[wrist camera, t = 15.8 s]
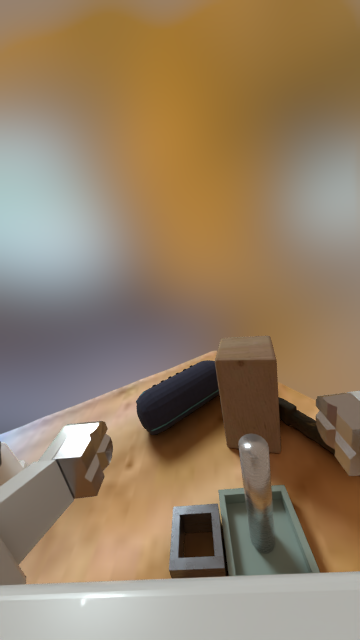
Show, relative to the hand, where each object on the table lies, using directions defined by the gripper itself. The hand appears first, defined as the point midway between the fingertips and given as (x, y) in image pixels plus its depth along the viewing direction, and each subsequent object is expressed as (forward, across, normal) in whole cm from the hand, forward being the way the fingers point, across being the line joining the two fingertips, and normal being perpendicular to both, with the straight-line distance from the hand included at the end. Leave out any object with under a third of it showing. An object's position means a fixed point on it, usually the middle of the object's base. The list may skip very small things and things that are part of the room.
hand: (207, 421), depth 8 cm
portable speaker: (+39, +7, +32) cm, 51 cm away
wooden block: (+30, -8, +32) cm, 45 cm away
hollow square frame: (+11, +4, +32) cm, 34 cm away
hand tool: (+27, -18, +32) cm, 46 cm away
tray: (+12, -4, +32) cm, 34 cm away
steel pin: (+12, -4, +31) cm, 34 cm away
